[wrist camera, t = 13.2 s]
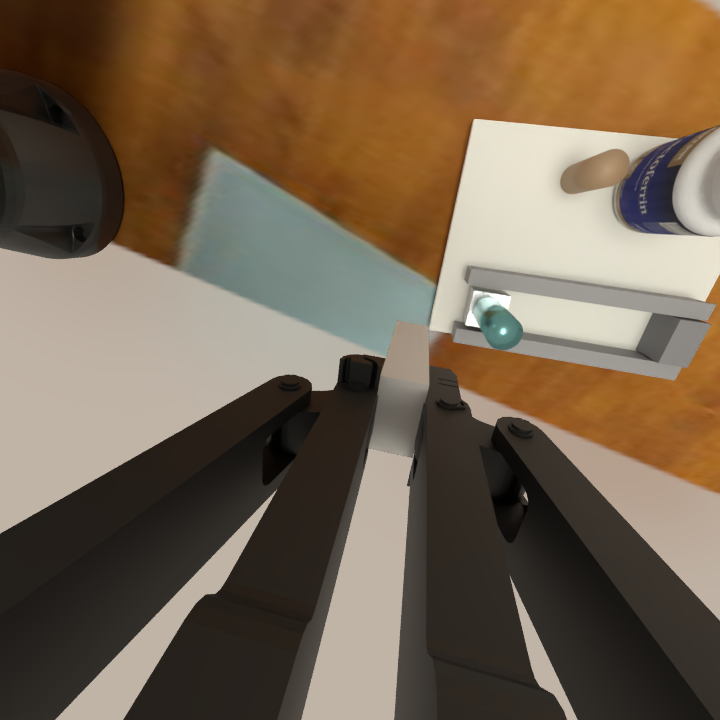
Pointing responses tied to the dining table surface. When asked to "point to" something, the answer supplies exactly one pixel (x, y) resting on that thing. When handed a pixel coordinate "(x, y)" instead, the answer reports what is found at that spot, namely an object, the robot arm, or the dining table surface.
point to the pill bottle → (674, 188)
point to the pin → (492, 317)
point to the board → (571, 253)
